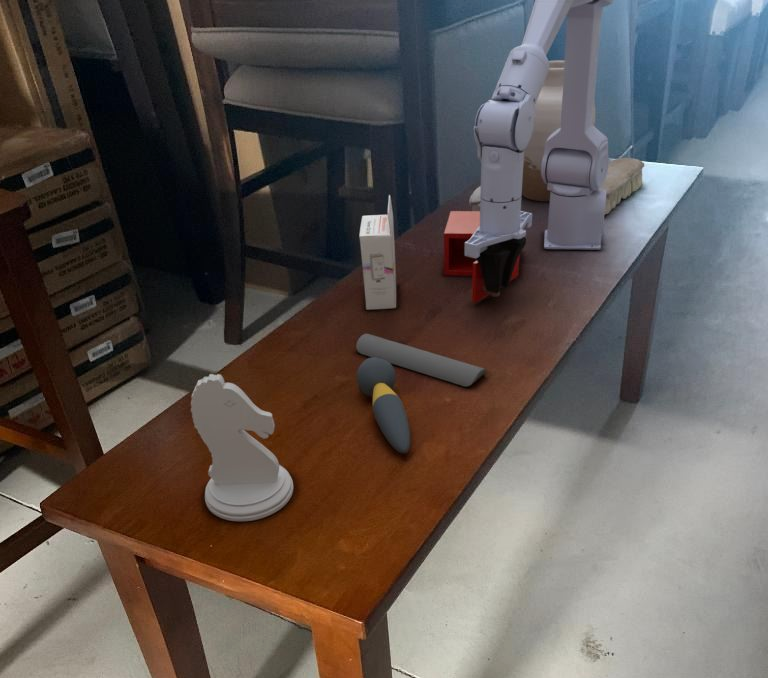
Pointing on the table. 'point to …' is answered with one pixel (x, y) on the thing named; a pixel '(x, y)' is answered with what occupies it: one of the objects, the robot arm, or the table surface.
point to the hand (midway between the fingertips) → (497, 288)
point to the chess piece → (238, 453)
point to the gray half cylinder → (419, 360)
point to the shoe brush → (621, 180)
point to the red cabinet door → (478, 282)
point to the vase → (544, 132)
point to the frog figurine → (475, 200)
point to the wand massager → (385, 401)
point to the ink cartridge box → (378, 260)
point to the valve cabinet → (459, 242)
